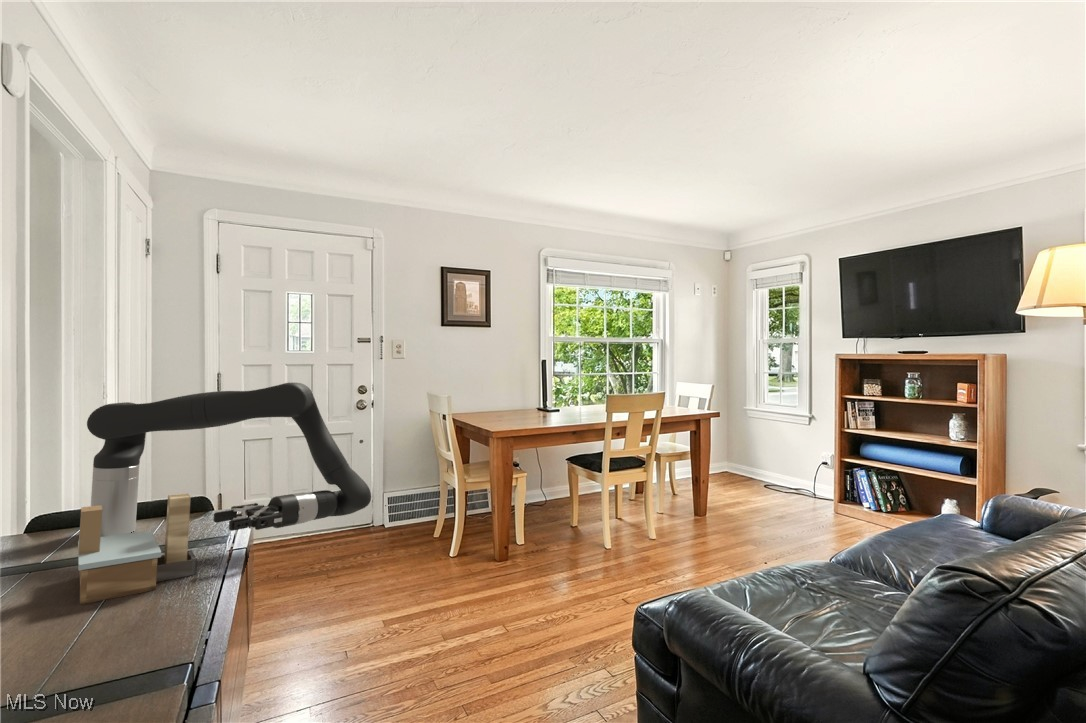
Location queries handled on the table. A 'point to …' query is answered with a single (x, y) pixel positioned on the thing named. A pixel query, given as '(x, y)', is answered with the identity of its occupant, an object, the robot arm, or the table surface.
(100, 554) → the lid
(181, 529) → the wooden block
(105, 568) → the wooden box
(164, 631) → the table surface
